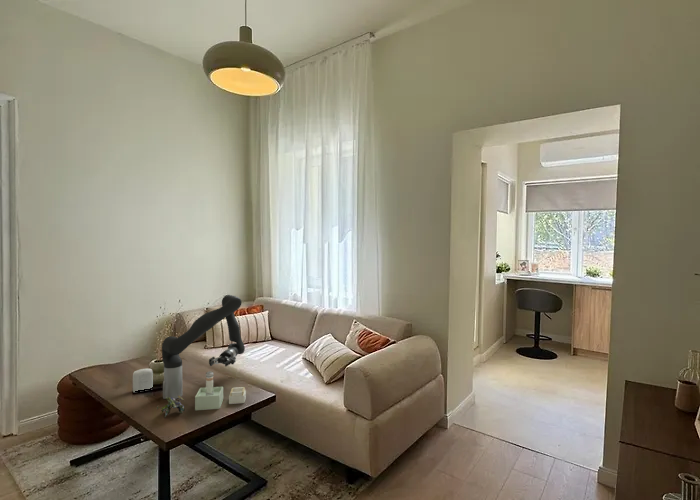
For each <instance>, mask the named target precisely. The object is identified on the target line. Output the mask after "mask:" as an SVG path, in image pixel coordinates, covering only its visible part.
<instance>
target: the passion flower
mask: <svg viewBox="0 0 700 500" xmlns="http://www.w3.org/2000/svg"><path fill="white" fill-rule="evenodd" d="M178 397H179V398H178V400H177V399H175V398H172V397H171V398H170V397H168V398H167V397H166V399H165V400H167V402H168V403H167V404H165V405H164V406H162V407H160V405H157V406H156V409H157V410H159V409H160V416H161V415H162V414H163V413H164V412H165V414H164V418H166V417H167V416H168V414H169V413H170V411H171V410H172V409H175V408H176V409H178V412H179V414H183V412H185V409H184V408H185V406H184V404H182V403H181V401H184V400H185V399H184V398H183V396H181V397H180V396H179V395H178Z"/></svg>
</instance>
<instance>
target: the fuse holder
mask: <svg viewBox="0 0 700 500" xmlns="http://www.w3.org/2000/svg"><path fill="white" fill-rule="evenodd" d="M246 398H247V389H246V388H245V386H243V387H242V386H240V387H239V386H238V387H232V388H231V389H230V393H229V395H228V404H229V405H233V404H234V405H235V404H236V405H237V404H245V402H246Z"/></svg>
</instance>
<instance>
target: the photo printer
mask: <svg viewBox="0 0 700 500" xmlns="http://www.w3.org/2000/svg"><path fill="white" fill-rule="evenodd" d="M153 376H154V371H153V369H152V368H140V369H137V370H134V372H133V373H132V392H133V393H136V392H135V391H138V390H144V389H150V388H152V387H153V385H154V381H153V380H154V377H153Z"/></svg>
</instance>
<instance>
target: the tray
mask: <svg viewBox="0 0 700 500" xmlns="http://www.w3.org/2000/svg"><path fill="white" fill-rule="evenodd" d="M223 400H224V386H213V395H210V396H206V387H199V389H198V391H197V393H196V395H195V396H194V411H206V410H219V409H221V406H222V403H223Z"/></svg>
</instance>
